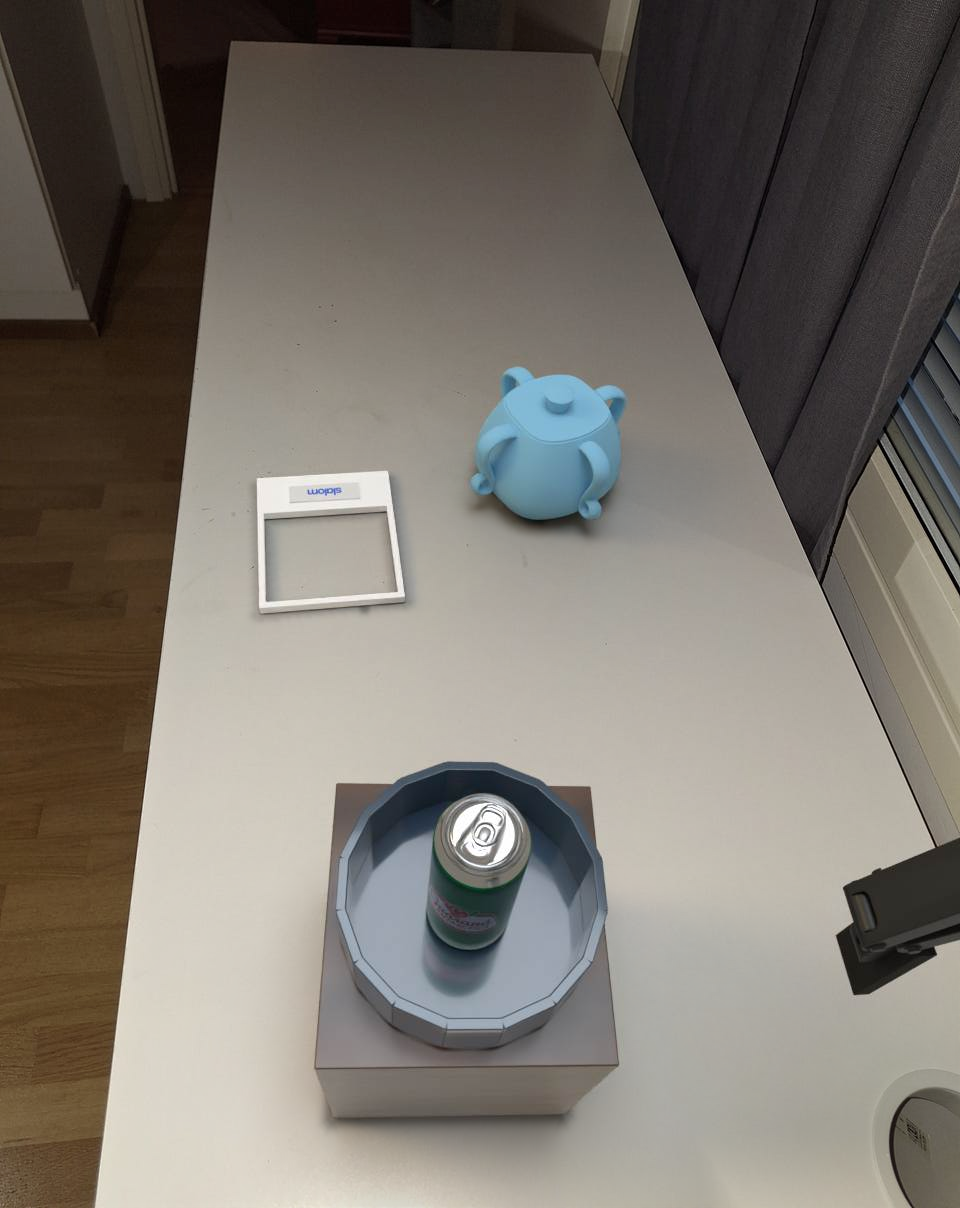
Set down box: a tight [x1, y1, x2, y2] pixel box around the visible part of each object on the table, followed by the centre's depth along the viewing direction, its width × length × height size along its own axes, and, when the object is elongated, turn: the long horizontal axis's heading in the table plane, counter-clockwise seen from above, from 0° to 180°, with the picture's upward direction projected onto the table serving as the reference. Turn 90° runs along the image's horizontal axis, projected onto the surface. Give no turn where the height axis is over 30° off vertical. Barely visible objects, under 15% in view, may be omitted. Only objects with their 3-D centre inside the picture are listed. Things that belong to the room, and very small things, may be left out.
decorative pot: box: [469, 366, 627, 521], centre depth 100 cm, size 16×16×14 cm
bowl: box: [335, 760, 609, 1049], centre depth 53 cm, size 15×15×5 cm
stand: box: [313, 782, 620, 1119], centre depth 63 cm, size 17×17×20 cm
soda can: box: [427, 793, 532, 950], centre depth 50 cm, size 5×5×12 cm
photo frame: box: [256, 470, 406, 614], centre depth 97 cm, size 15×1×18 cm
